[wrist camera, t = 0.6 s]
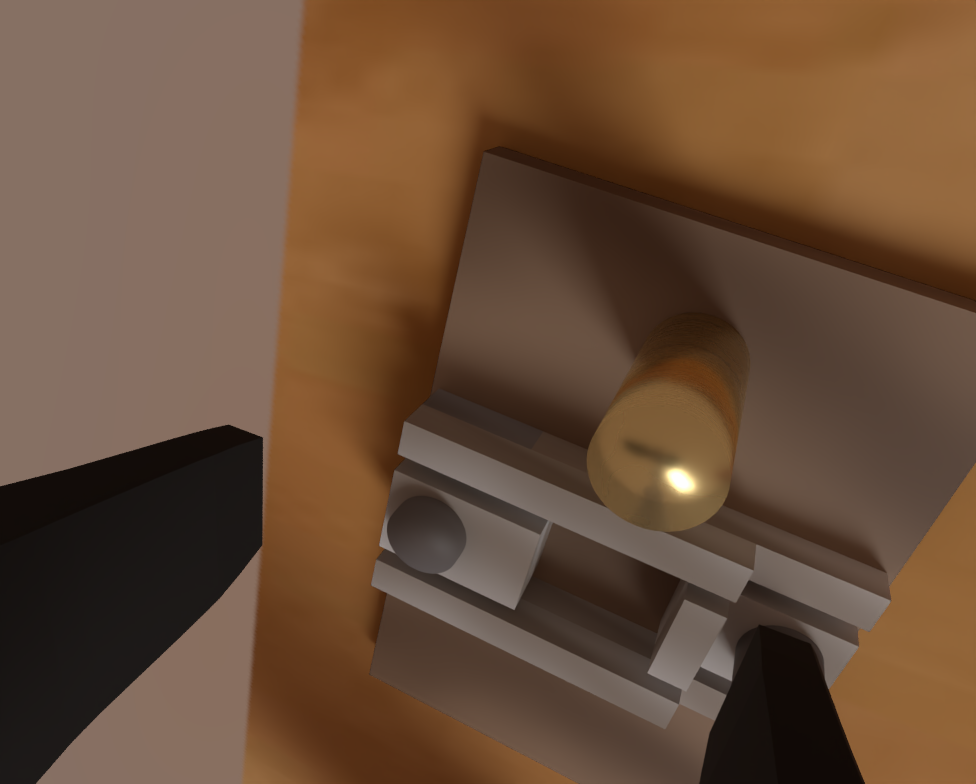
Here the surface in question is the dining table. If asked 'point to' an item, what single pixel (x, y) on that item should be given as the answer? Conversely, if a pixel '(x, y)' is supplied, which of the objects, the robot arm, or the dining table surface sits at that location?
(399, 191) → the dining table surface
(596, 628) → the grey mounting plate
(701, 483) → the brass pin
